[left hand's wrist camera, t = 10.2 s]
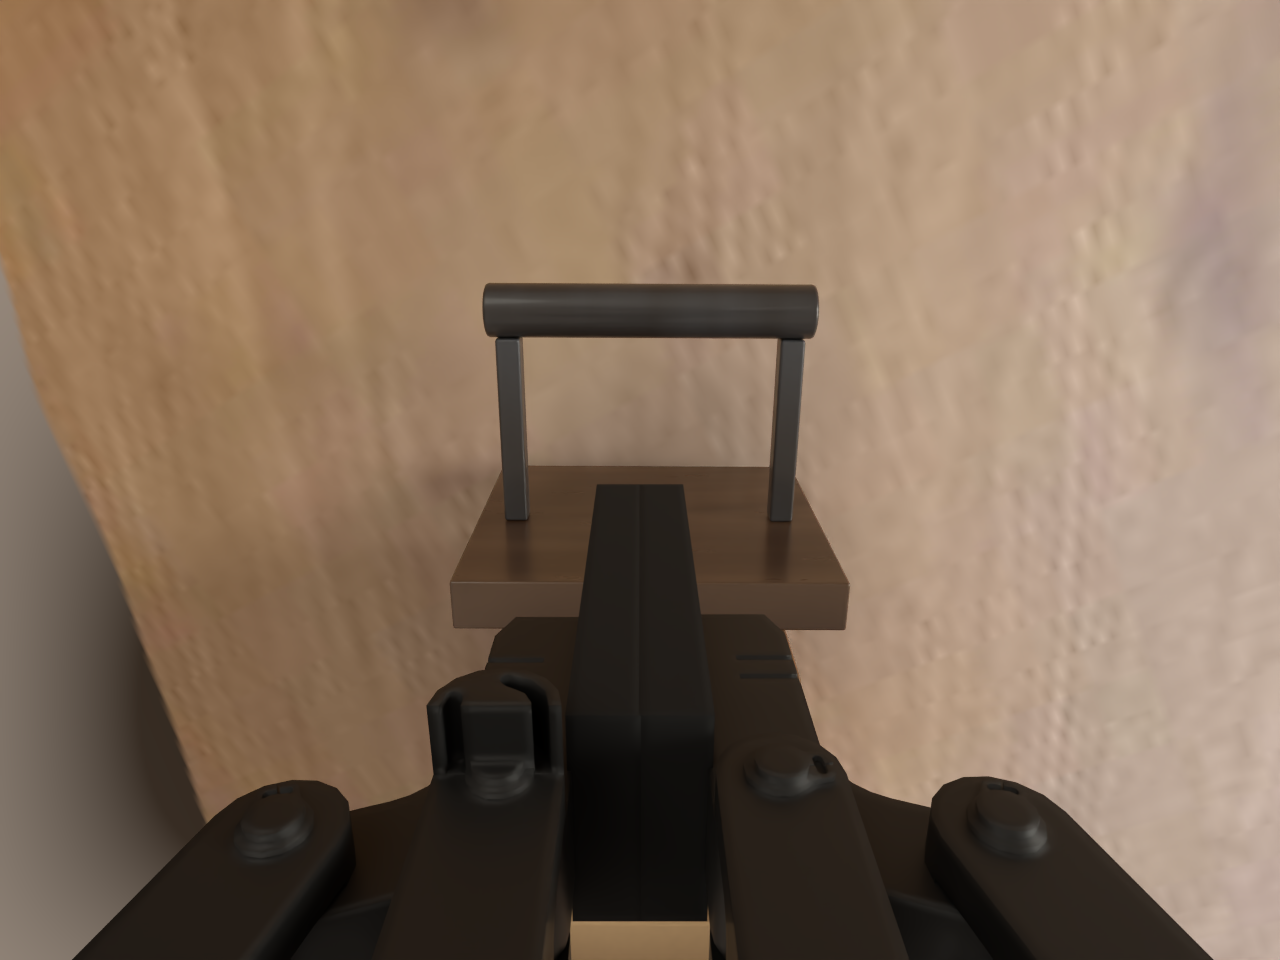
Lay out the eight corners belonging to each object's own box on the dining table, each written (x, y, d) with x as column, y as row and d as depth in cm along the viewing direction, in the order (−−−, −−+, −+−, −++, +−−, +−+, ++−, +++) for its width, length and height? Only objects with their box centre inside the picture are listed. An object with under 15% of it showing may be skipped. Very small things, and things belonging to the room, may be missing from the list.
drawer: (492, 264, 24) (426, 306, 16) (805, 266, 24) (879, 308, 16) (524, 863, 31) (489, 1076, 24) (762, 865, 31) (800, 1077, 24)
